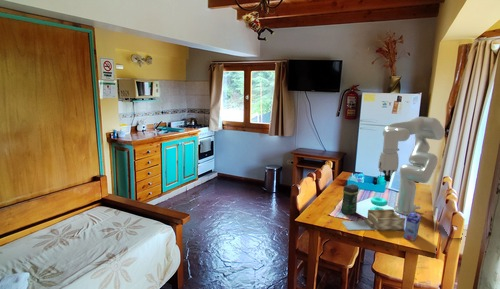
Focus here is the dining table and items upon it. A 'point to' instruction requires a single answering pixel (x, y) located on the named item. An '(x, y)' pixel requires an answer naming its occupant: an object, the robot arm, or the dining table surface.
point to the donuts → (378, 203)
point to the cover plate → (359, 225)
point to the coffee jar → (350, 199)
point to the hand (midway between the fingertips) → (387, 180)
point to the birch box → (386, 220)
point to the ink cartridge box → (412, 226)
